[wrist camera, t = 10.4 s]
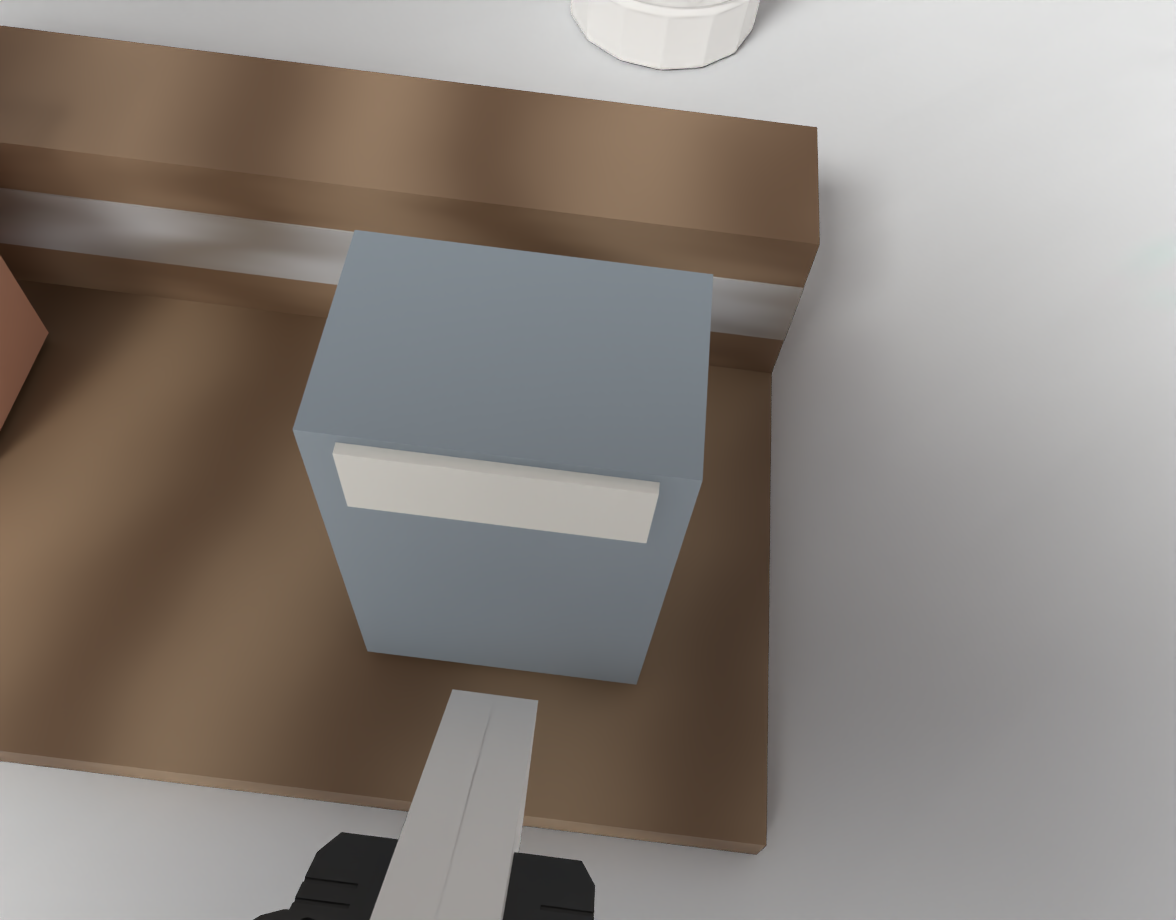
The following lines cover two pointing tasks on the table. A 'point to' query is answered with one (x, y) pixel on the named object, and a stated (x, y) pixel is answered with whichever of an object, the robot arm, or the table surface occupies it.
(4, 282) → the salmon orange box
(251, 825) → the table surface
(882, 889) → the table surface
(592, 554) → the blue gray box
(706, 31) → the white cup
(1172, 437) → the table surface
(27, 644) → the wooden display shelf
